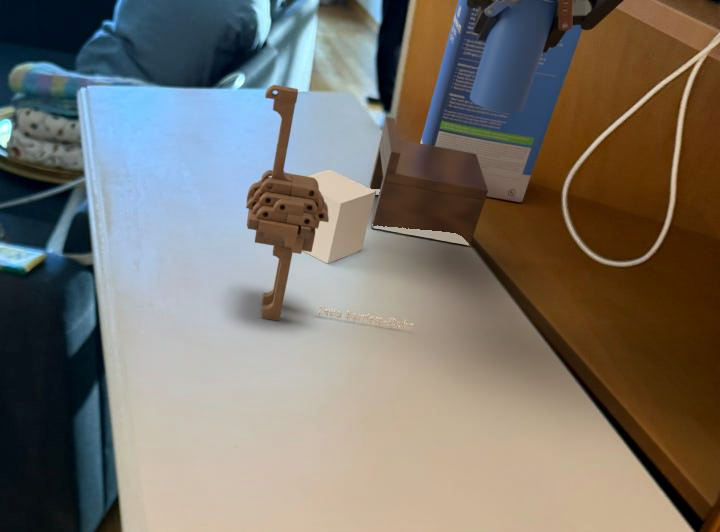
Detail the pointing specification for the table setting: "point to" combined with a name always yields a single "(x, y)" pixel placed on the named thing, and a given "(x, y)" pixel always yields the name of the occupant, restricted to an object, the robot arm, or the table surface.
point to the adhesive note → (341, 216)
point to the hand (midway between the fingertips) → (512, 36)
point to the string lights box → (490, 128)
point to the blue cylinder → (512, 56)
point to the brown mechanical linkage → (288, 211)
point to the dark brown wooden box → (426, 186)
